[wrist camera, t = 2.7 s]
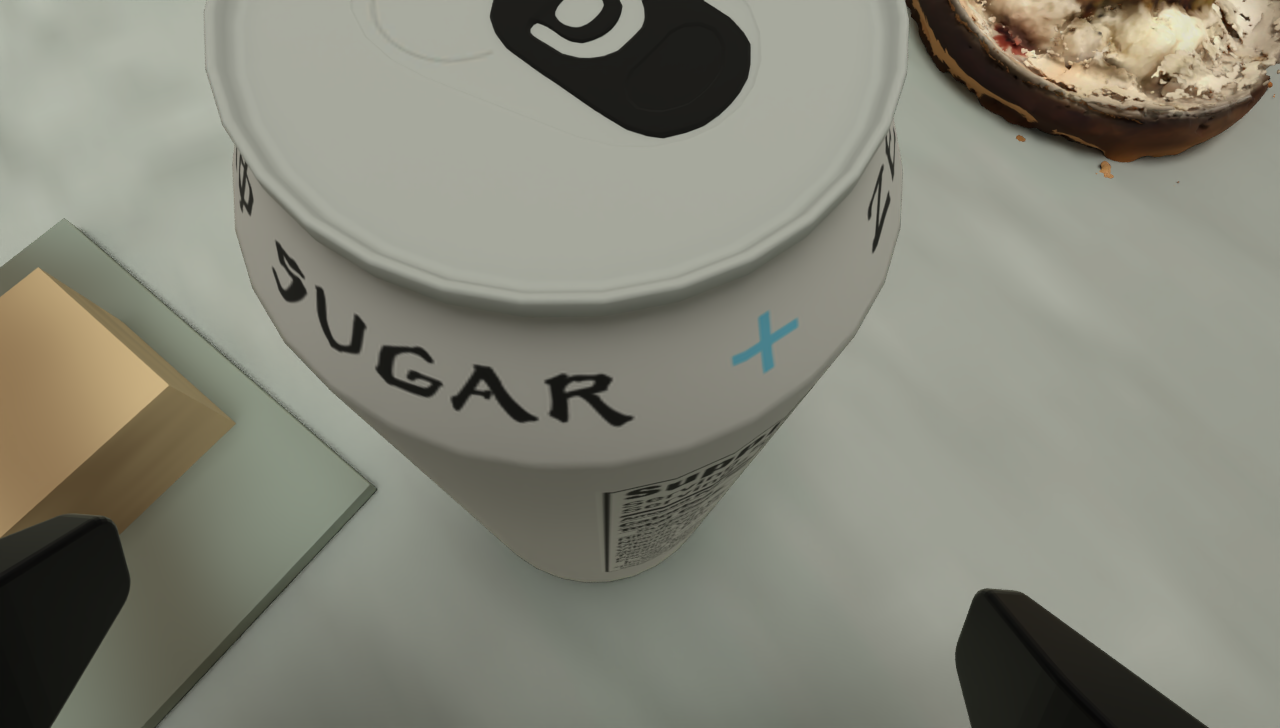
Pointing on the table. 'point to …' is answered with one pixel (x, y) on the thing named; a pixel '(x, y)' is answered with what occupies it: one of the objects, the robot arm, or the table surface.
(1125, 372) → the table surface
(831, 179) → the energy drink can
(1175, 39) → the brown and white disc
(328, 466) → the ridge
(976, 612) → the robot arm
